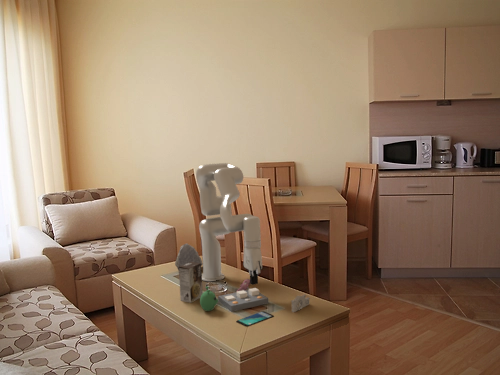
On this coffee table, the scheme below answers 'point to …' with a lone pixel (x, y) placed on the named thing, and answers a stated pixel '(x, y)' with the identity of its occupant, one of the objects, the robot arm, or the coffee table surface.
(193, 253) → the decorative rock
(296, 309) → the garden wall model
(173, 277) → the coffee table surface
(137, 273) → the coffee table surface
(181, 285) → the coffee box
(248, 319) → the smartphone
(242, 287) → the pink curved piece
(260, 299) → the button board
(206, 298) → the alien toy
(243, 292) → the button middle
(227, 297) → the button
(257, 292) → the button
